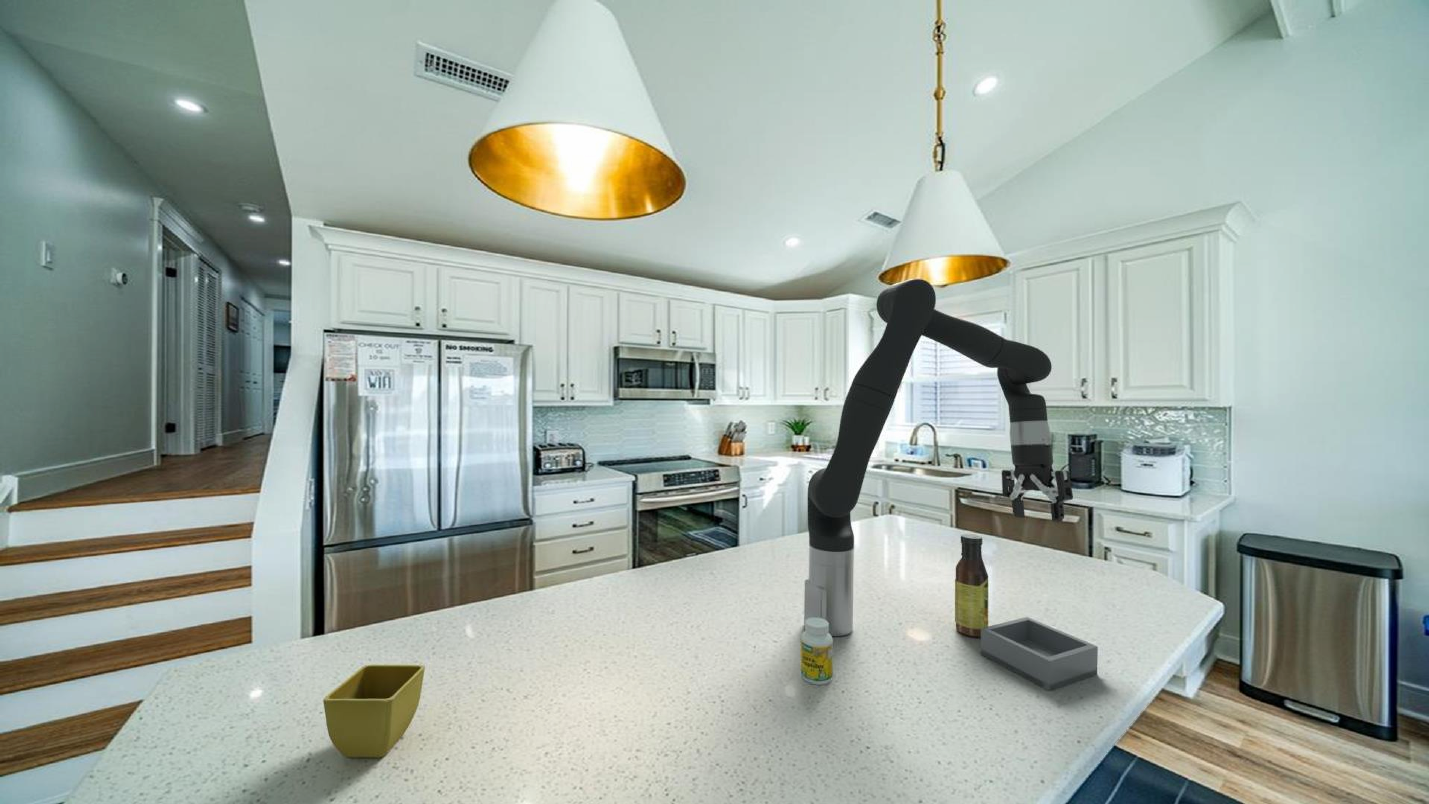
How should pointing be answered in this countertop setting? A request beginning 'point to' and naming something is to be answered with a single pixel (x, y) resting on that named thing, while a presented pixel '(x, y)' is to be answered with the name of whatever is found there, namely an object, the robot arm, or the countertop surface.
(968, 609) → the sauce bottle
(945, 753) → the countertop surface
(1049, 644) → the gray tray
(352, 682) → the flower pot
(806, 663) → the supplement bottle
